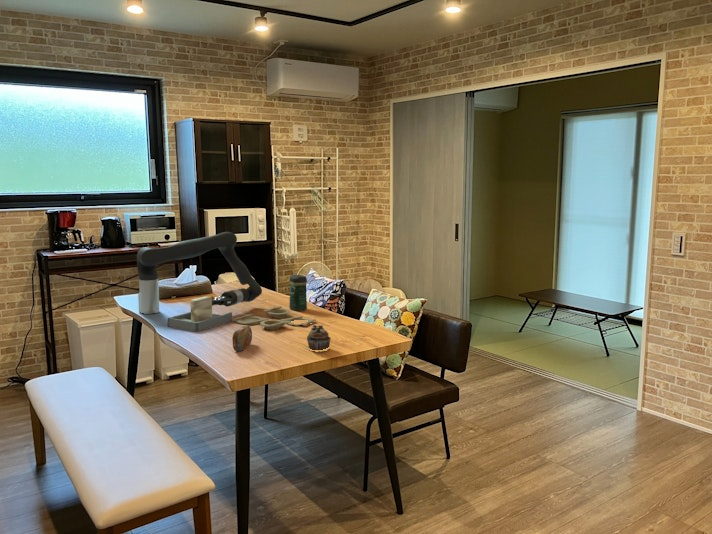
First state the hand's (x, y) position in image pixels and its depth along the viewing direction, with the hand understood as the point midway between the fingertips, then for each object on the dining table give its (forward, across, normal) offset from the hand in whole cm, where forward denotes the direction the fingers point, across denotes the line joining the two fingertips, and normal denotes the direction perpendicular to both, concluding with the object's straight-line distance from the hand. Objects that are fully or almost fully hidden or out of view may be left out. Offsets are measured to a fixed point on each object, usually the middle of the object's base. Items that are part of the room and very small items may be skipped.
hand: (208, 303), depth 276 cm
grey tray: (+6, 0, +8) cm, 10 cm away
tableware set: (-15, +28, +9) cm, 33 cm away
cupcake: (+13, +70, +9) cm, 72 cm away
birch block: (+5, 0, +6) cm, 8 cm away
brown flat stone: (+27, +42, +9) cm, 51 cm away
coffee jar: (-44, +22, +9) cm, 50 cm away
